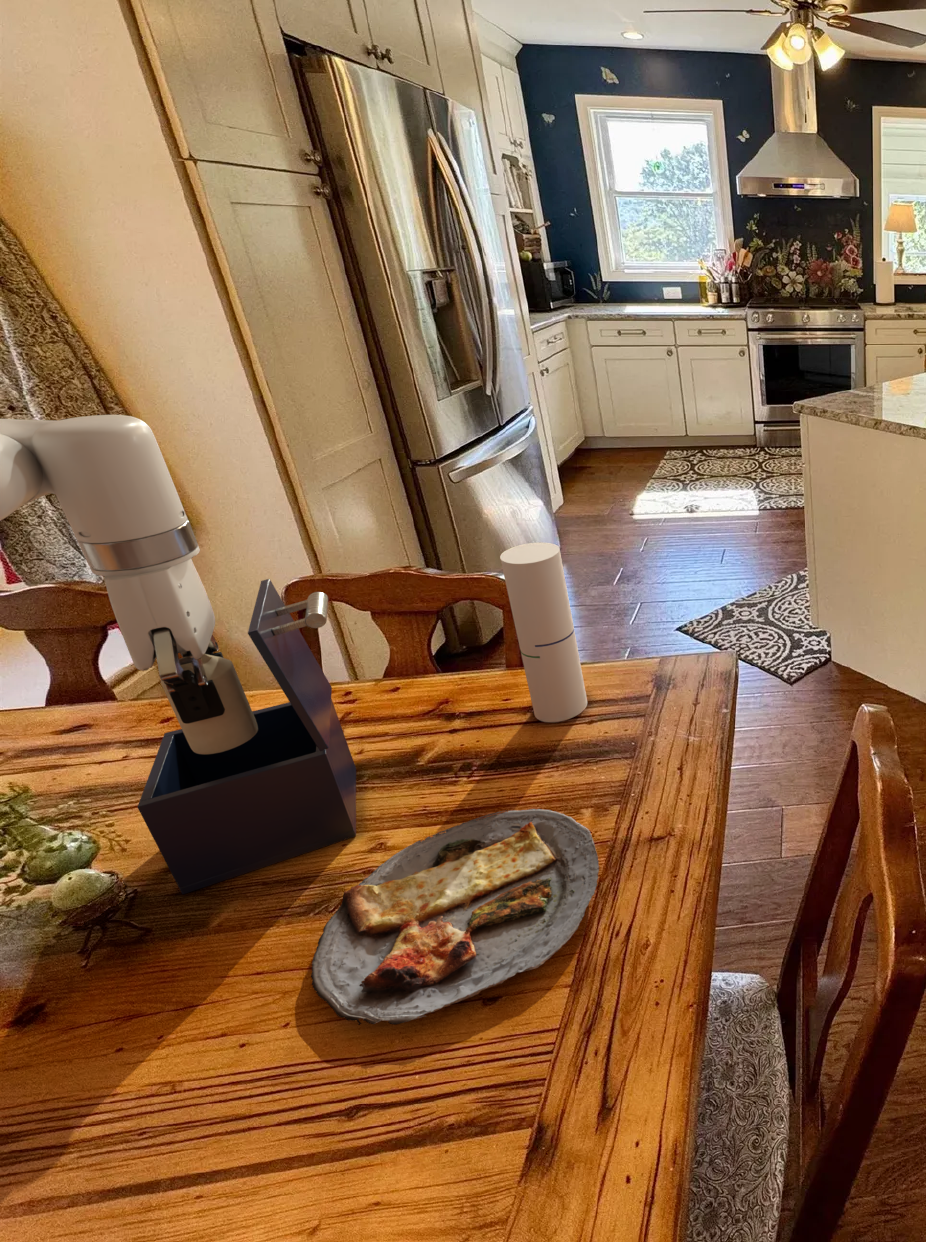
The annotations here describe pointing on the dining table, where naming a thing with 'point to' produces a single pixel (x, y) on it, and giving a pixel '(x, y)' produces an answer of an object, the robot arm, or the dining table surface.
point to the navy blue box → (249, 799)
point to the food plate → (456, 915)
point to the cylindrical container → (545, 630)
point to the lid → (294, 656)
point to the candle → (227, 727)
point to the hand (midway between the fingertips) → (209, 701)
